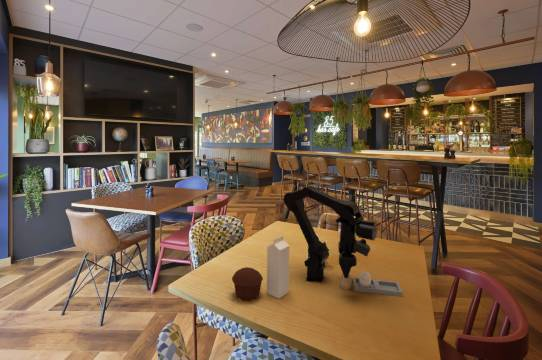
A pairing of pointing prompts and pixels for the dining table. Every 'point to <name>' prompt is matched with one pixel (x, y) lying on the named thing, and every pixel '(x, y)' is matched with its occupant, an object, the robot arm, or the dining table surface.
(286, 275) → the milk
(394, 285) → the grey flat rectangular tray
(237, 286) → the muffin
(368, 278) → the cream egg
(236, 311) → the dining table surface
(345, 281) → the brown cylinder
